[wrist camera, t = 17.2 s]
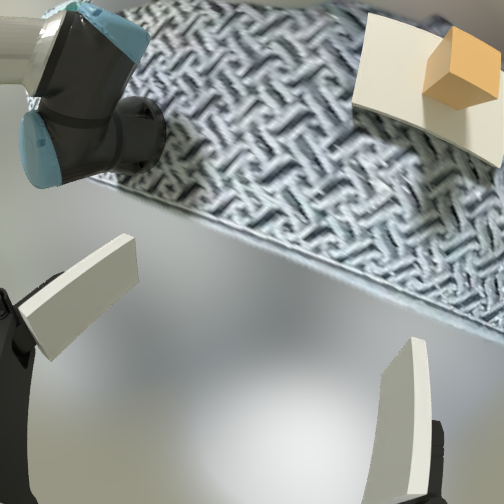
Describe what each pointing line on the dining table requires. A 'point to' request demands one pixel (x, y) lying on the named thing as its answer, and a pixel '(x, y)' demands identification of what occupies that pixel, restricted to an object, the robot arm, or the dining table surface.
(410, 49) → the plate
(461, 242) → the dining table surface
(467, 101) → the tan upright carton
